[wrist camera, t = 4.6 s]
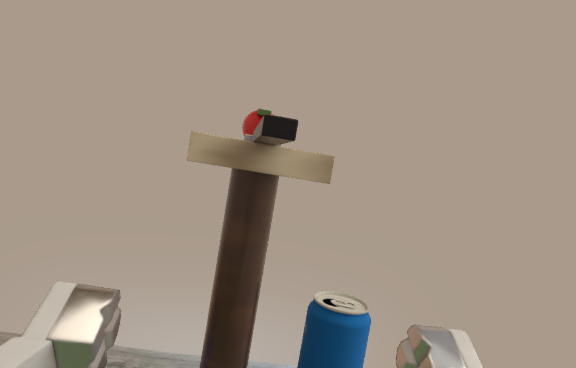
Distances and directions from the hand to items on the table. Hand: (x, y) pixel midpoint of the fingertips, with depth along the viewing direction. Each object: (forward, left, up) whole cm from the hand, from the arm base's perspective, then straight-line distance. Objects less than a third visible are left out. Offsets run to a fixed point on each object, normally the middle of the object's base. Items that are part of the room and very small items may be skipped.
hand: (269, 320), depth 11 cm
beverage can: (+11, +27, -21) cm, 36 cm away
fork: (0, +18, +5) cm, 18 cm away
